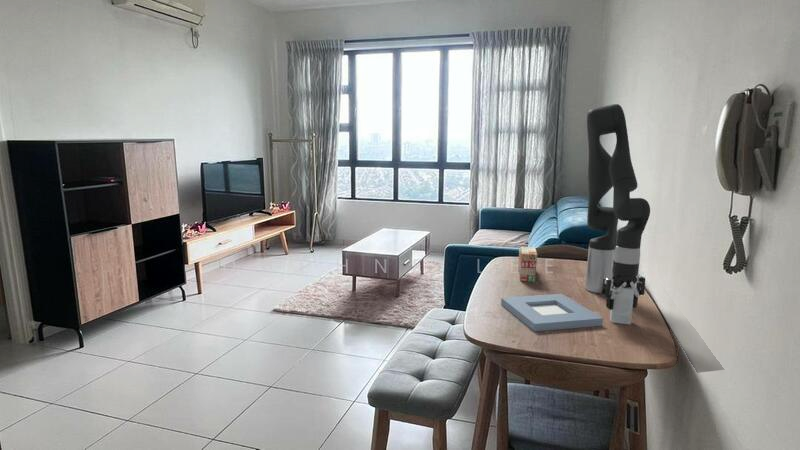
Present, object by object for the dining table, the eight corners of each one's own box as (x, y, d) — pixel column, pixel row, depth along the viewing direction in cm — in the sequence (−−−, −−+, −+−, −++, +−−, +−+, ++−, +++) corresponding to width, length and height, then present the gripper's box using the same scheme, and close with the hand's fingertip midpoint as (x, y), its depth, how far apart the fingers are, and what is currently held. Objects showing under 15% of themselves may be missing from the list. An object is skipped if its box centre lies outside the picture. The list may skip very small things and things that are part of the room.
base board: (561, 300, 171) (561, 293, 170) (602, 325, 148) (603, 318, 147) (500, 304, 166) (501, 297, 165) (534, 331, 143) (534, 323, 142)
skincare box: (629, 320, 153) (633, 285, 150) (630, 325, 149) (634, 289, 146) (609, 317, 155) (612, 283, 152) (610, 322, 151) (614, 287, 148)
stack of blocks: (517, 267, 214) (519, 241, 212) (531, 268, 213) (533, 242, 210) (519, 281, 193) (521, 252, 191) (535, 282, 192) (537, 253, 190)
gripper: (637, 256, 153) (632, 302, 156) (599, 258, 150) (594, 305, 153) (654, 262, 146) (648, 310, 149) (614, 264, 143) (609, 313, 146)
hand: (621, 308), depth 151 cm, fingers open, 8 cm apart
